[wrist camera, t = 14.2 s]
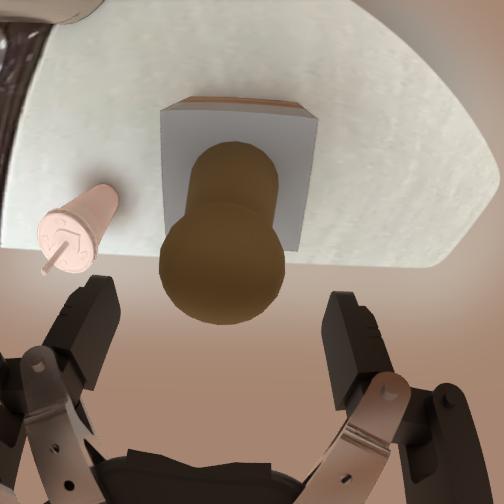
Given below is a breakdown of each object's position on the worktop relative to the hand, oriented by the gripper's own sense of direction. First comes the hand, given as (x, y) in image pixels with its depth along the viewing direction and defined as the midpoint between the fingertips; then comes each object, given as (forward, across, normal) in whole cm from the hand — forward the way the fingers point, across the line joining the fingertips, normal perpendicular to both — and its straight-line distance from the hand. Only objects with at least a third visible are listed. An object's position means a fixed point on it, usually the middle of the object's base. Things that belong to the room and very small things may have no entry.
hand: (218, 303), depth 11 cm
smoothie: (+22, +15, +6) cm, 27 cm away
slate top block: (+16, 0, 0) cm, 16 cm away
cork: (+12, 0, 0) cm, 12 cm away
